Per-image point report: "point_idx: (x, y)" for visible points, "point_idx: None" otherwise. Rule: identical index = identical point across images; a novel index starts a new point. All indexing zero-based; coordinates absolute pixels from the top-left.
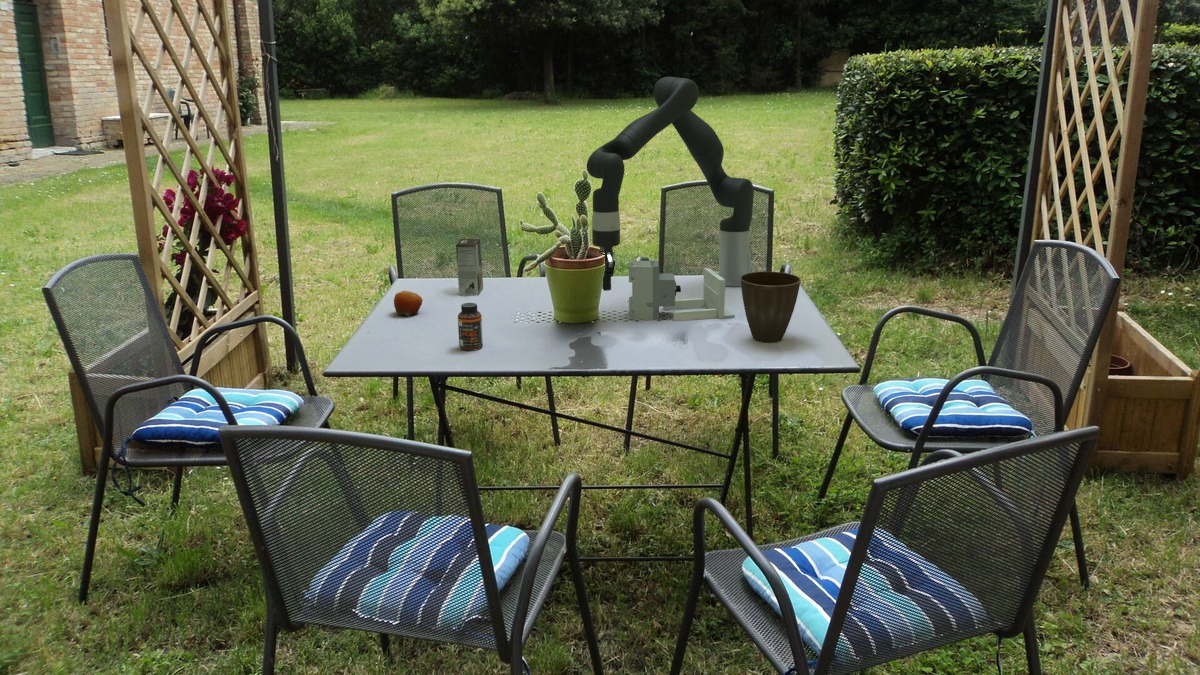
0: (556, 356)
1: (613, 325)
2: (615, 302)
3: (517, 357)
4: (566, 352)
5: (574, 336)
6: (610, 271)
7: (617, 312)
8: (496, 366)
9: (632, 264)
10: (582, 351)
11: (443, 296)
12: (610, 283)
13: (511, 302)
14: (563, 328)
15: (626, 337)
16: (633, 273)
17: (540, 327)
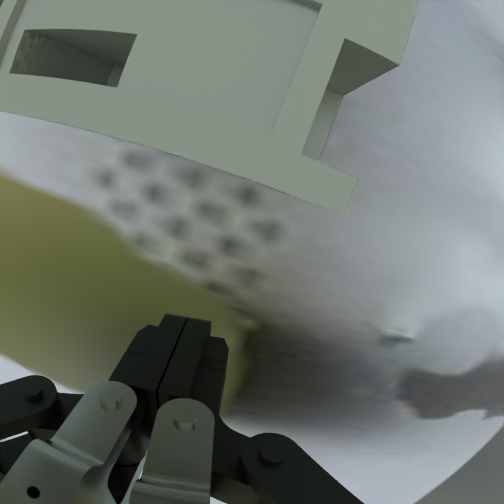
0: (463, 436)
1: (330, 260)
2: (5, 143)
3: (416, 479)
4: (460, 423)
5: (375, 405)
6: (210, 475)
7: (125, 170)
8: (428, 491)
9: (6, 28)
10: (480, 396)
11: None
12: (200, 356)
13: None
14: (278, 415)
15: (479, 268)
16: (331, 106)
17: None
